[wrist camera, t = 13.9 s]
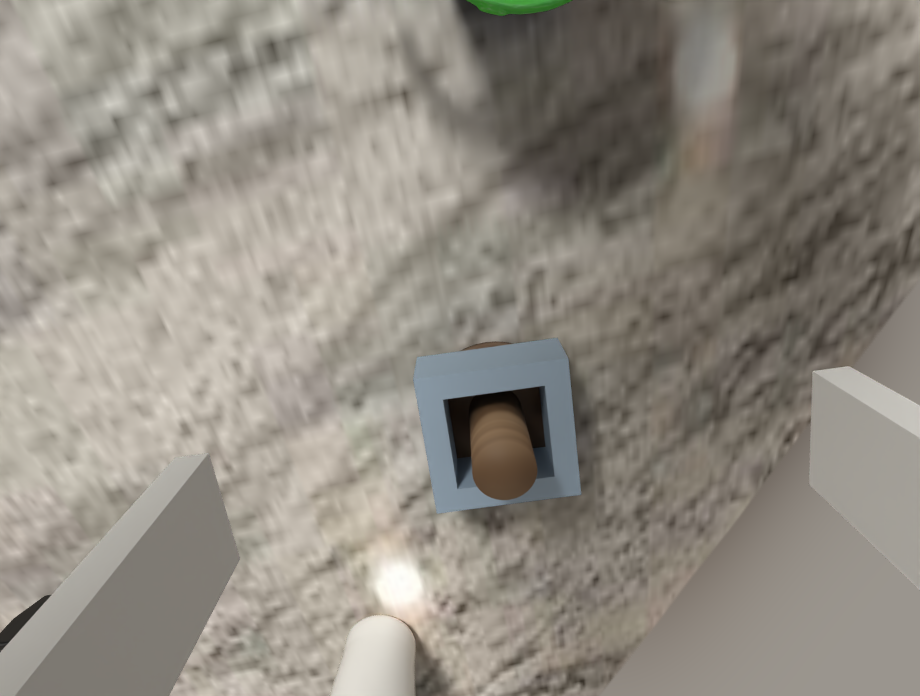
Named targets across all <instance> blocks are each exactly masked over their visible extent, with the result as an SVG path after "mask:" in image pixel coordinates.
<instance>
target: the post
mask: <svg viewBox="0 0 920 696" xmlns="http://www.w3.org/2000/svg"><path fill="white" fill-rule="evenodd" d="M509 344H512V343H506V342H485V343H480V344H476V345H473V346H470V347H468V348H465V349H463V350H461V351H466V350H473V349H480V348H487V347H495V346H502V345H509ZM448 405H449V411H450V417H451V423H452V430H453V436H454V442H455V448H456V455H457V458H464V457H471V459H472V475H473V480H474V482H475V484H476V486H477V487H478V489H479V490H480V491H481V492H482V493H484V494H485V495H487V496H488V497H491V498H493V499H497V500H510V499H515V498H518V497H520V496H522V495H523V494H525V493H526V492H527V491H528V490H529V489H530V488H531V487H532V486H533V484H534V482H535V480H536V477H537V463H536V459H535V456H534V452H533V448H539V447H546V446H545V437H544V428H543V419H542V410H541V401H540V392H539V387H532V388H525V389H518V390H510V391H503V392H496V393H488V394H481V395H474V396H466V397H459V398H452V399H448Z"/></svg>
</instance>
